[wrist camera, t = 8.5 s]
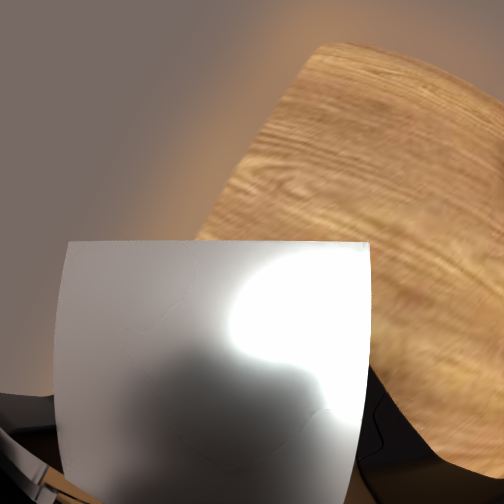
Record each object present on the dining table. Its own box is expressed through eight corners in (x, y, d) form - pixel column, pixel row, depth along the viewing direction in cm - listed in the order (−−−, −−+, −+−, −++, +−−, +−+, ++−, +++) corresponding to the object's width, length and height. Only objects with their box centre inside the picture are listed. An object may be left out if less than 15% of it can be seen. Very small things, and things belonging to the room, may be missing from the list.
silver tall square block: (311, 390, 14) (324, 555, 2) (236, 385, 15) (65, 478, 2) (317, 316, 15) (369, 243, 3) (242, 313, 16) (69, 241, 4)
